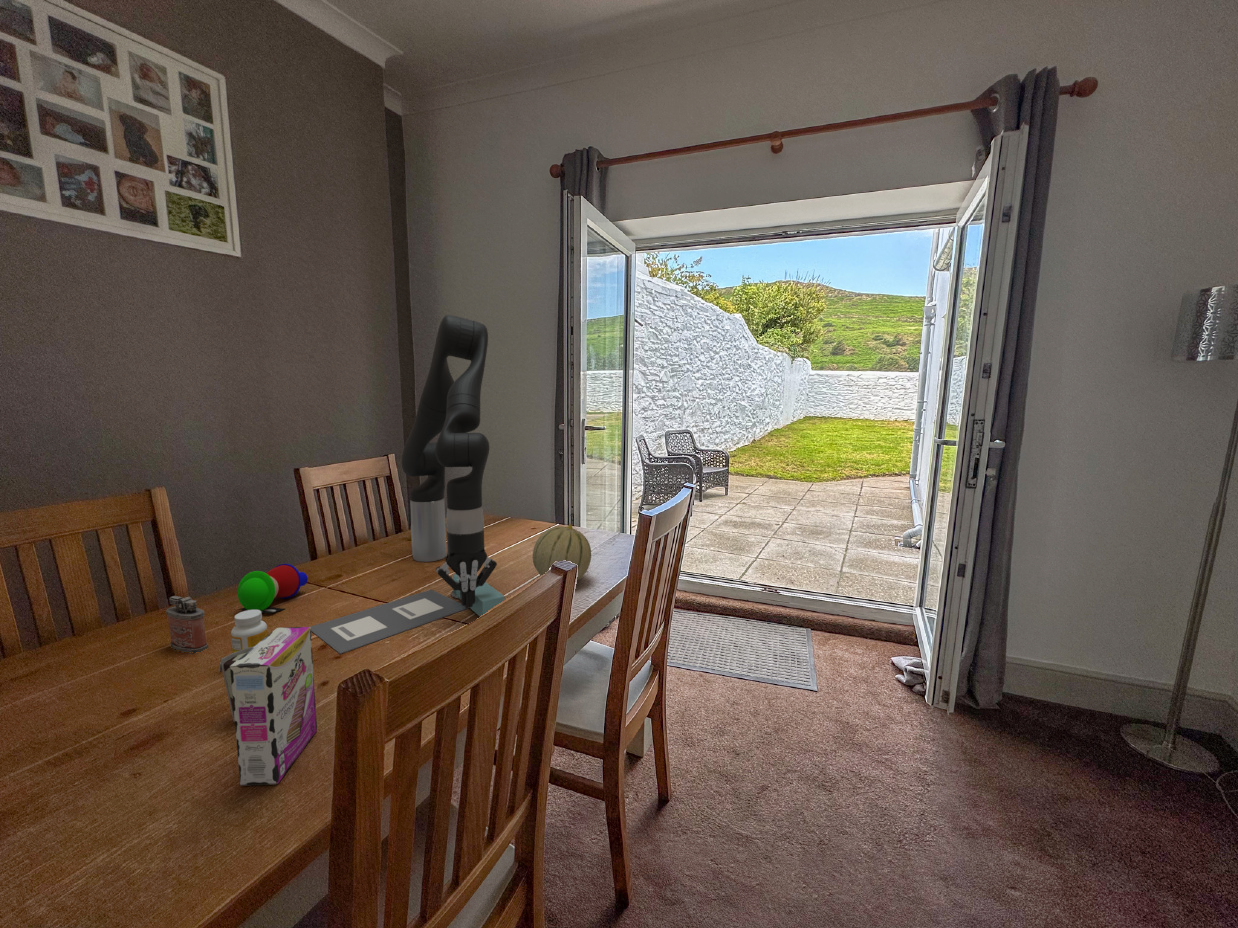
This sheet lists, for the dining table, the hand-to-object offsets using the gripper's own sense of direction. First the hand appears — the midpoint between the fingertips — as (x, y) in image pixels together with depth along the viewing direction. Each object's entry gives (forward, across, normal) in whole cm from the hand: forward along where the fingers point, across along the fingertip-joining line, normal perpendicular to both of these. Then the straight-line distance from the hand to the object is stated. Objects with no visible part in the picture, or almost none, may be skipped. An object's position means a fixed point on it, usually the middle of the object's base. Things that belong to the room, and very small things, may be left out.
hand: (468, 605), depth 117 cm
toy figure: (+3, -37, +29) cm, 47 cm away
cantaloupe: (+3, +26, +10) cm, 29 cm away
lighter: (+3, -50, +13) cm, 52 cm away
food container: (+3, -34, -19) cm, 39 cm away
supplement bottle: (+3, -39, 0) cm, 39 cm away
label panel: (+3, -14, +9) cm, 17 cm away
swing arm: (+2, +4, +7) cm, 8 cm away
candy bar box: (+3, -33, -31) cm, 45 cm away
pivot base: (+3, +3, +15) cm, 15 cm away
